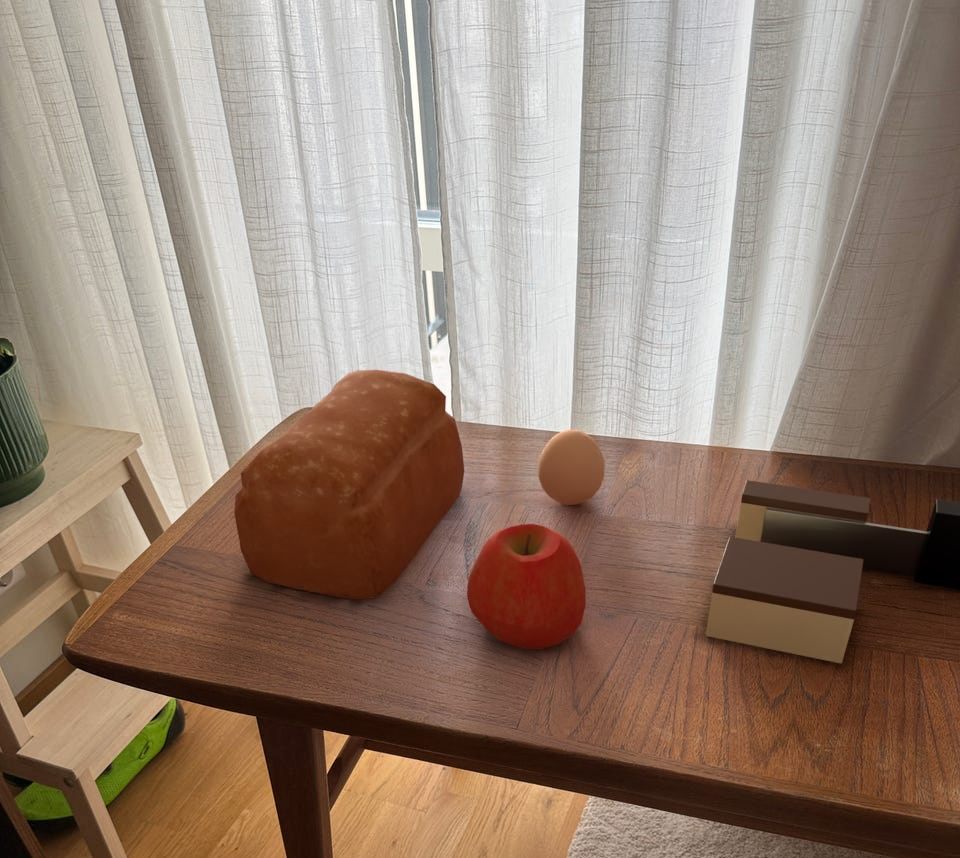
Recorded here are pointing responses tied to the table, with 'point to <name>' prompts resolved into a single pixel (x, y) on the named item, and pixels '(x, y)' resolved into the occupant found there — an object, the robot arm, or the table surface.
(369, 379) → the bread
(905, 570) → the knife
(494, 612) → the apple
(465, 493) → the table surface
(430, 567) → the table surface
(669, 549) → the table surface
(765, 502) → the cake slice
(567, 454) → the egg
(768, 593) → the cake
